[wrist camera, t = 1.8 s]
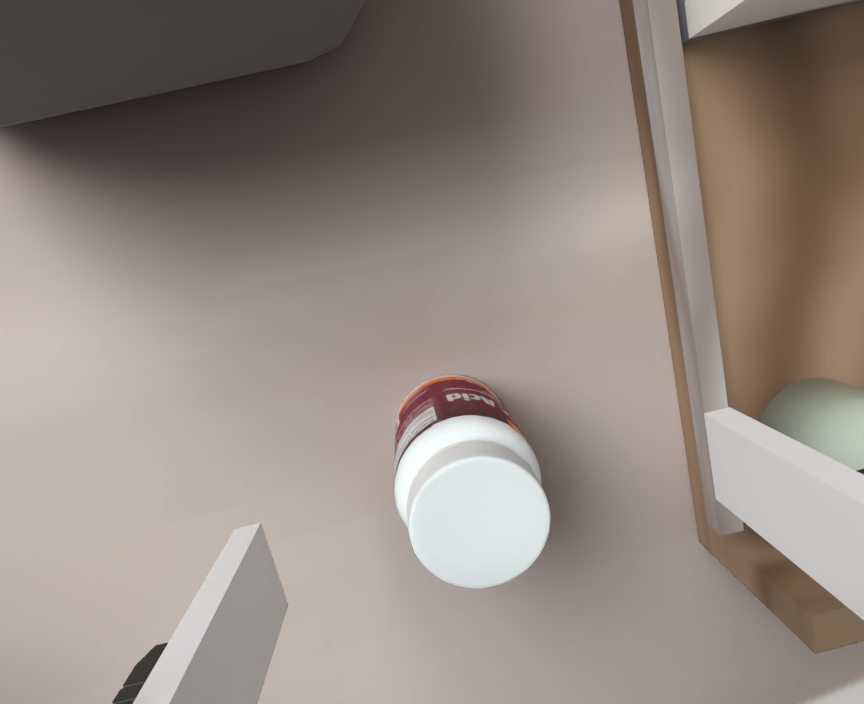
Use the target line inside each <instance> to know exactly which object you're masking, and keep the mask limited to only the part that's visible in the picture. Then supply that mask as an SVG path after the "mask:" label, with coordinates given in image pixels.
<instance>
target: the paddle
mask: <svg viewBox="0 0 864 704" xmlns="http://www.w3.org/2000/svg"><path fill="white" fill-rule="evenodd" d="M859 1H864V0H676V3H677V11H678V18H679V26H680V34H681V42H682V44H684V43H688V42H692V41H696V40H700V39H705V38H709V37H713V36H717V35H721V34H725V33H730V32H734V31H738V30H742V29H746V28H751V27H755V26H759V25H763V24H767V23H772V22H776V21H780V20H784V19H788V18H792V17H797V16H801V15H805V14H809V13H813V12H818V11H822V10H826V9H830V8H834V7H839V6H843V5H847V4H851V3H855V2H859Z"/></svg>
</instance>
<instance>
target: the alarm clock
mask: <svg viewBox="0 0 864 704" xmlns="http://www.w3.org/2000/svg"><path fill="white" fill-rule="evenodd" d="M365 2H366V0H0V128H3V127H8V126H12V125H17V124H22V123H26V122H31V121H36V120H40V119H45V118H49V117H54V116H59V115H63V114H68V113H73V112H77V111H82V110H87V109H91V108H96V107H101V106H105V105H110V104H115V103H119V102H124V101H128V100H133V99H138V98H142V97H147V96H152V95H156V94H161V93H166V92H170V91H175V90H180V89H184V88H189V87H193V86H198V85H203V84H207V83H212V82H217V81H221V80H226V79H231V78H235V77H240V76H245V75H249V74H254V73H258V72H263V71H268V70H272V69H277V68H282V67H286V66H291V65H296V64H300V63H305V62H309V61H311V60H313V59H315V58H317V57H319V56H321V55H323V54H325V53H327V52H329V51H331V50H333V49H335V48H337V47H339V46H341V45H342V43H343V41H344V39H345V38H346V36H347V34H348V32H349V30H350V29H351V27H352V25H353V23H354V22H355V20H356V18H357V16H358V15H359V13H360V11H361V9H362V8H363V6H364V4H365Z"/></svg>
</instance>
